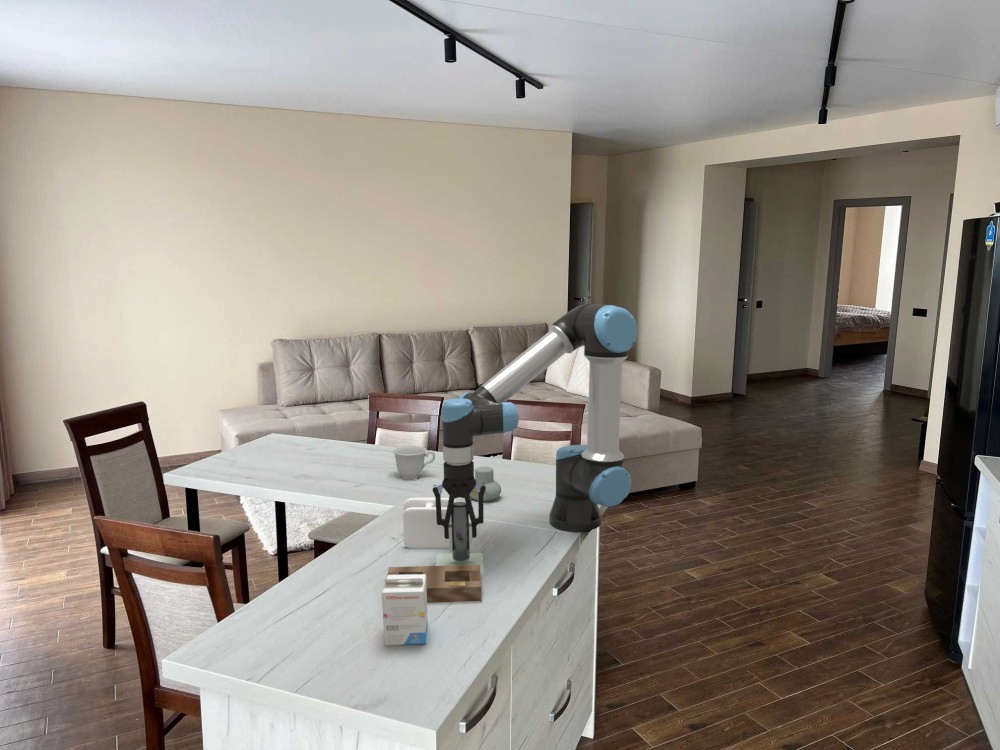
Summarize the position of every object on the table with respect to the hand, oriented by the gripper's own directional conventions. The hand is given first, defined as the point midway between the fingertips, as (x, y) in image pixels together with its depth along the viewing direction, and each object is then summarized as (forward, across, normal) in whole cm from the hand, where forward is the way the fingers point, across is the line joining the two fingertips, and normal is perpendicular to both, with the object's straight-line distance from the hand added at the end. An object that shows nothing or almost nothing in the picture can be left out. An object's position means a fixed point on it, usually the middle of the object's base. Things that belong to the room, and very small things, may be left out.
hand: (461, 549), depth 187 cm
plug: (+2, 0, 0) cm, 2 cm away
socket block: (+4, +6, +14) cm, 16 cm away
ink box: (+4, +12, +34) cm, 36 cm away
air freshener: (+5, -8, -51) cm, 52 cm away
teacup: (+5, +16, -75) cm, 77 cm away
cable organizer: (+4, +8, -15) cm, 18 cm away
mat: (+4, 0, 0) cm, 4 cm away
